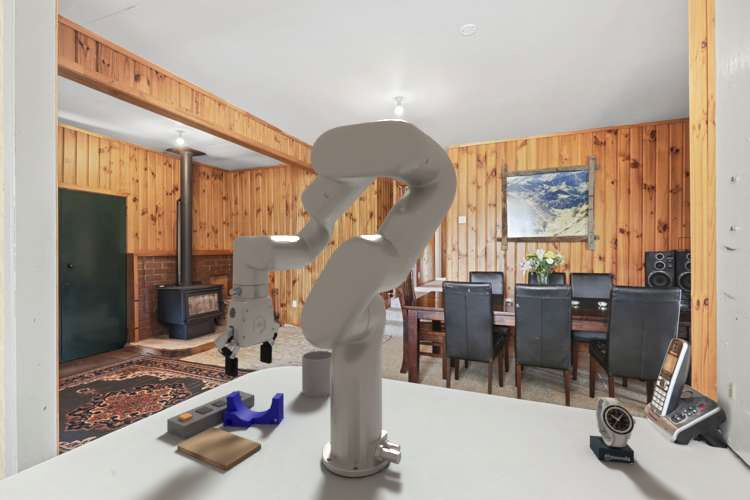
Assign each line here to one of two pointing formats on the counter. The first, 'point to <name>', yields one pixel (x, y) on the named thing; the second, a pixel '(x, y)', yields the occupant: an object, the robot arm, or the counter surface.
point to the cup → (316, 373)
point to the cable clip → (252, 412)
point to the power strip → (203, 416)
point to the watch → (613, 432)
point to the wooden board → (219, 448)
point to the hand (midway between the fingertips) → (249, 368)
